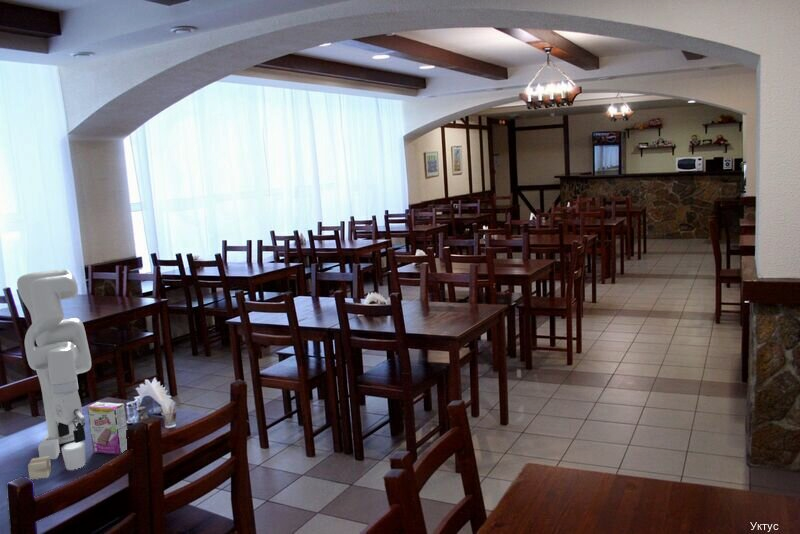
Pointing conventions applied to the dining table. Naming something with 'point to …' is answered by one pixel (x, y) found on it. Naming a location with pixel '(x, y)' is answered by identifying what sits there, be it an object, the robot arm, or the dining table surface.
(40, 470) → the birch block
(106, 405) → the candy bar box
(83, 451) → the white cup
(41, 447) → the grey block
